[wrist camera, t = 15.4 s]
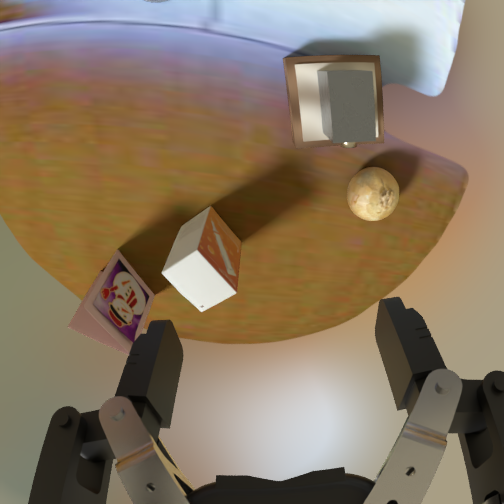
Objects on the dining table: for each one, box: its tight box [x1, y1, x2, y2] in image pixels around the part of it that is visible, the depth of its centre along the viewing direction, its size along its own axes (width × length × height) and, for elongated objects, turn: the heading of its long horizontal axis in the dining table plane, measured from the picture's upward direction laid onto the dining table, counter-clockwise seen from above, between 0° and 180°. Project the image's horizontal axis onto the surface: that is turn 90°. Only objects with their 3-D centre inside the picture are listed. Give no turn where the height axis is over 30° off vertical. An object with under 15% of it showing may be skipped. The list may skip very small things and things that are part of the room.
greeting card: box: [68, 249, 155, 355], centre depth 50 cm, size 11×7×15 cm, turn 27°
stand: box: [283, 55, 384, 149], centre depth 38 cm, size 12×12×4 cm
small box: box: [162, 206, 242, 312], centre depth 46 cm, size 8×6×13 cm
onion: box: [347, 167, 399, 221], centre depth 44 cm, size 8×8×7 cm
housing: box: [317, 70, 376, 148], centre depth 33 cm, size 9×5×6 cm, turn 8°
